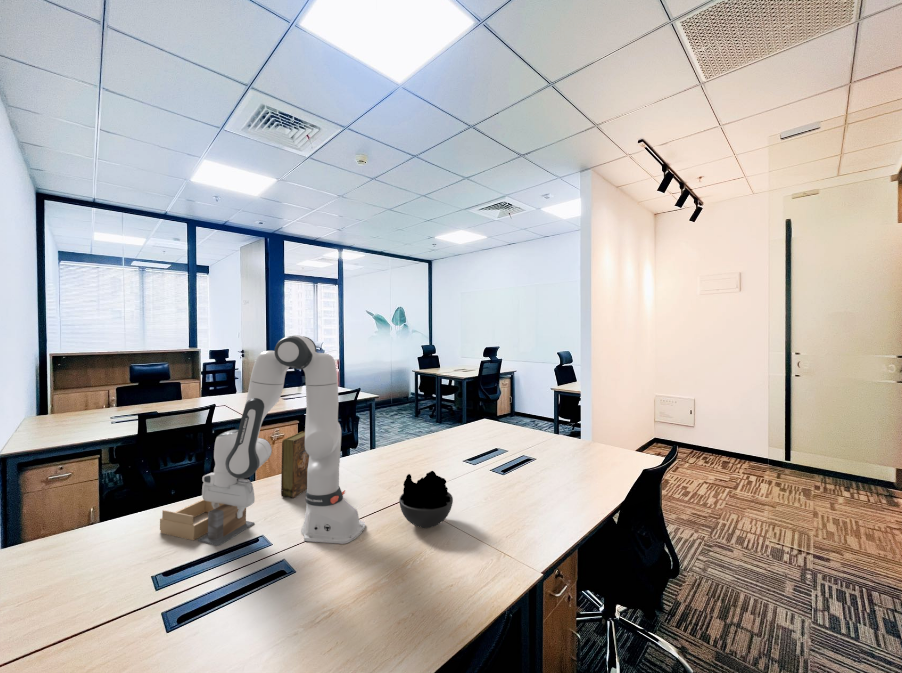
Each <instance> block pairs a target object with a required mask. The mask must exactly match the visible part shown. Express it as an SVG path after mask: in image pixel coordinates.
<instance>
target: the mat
mask: <svg viewBox="0 0 902 673" xmlns="http://www.w3.org/2000/svg"><path fill="white" fill-rule="evenodd" d="M254 525H255V522H254V521H248V520H246V524H244V525H242V526H241V527H239V528H237V529H236V530H234V531H232V532H231V533H229V534H227V535H225V536H224V537H222V538H220V539H219V540H212V539H208V533H206V534H204V535H202V536H200V537H199V538H197V542H200V543H204V544H208V545H214V546H218V547H220V546H221V545H222V544H224V543H226V542H228V541H229V540H231V539H232V538H234V537H235V536H238V534H241V533H242V532H244V531H246V530H248V529H249V528H251V527H252V526H254Z"/></svg>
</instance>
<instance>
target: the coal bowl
mask: <svg viewBox="0 0 902 673" xmlns="http://www.w3.org/2000/svg"><path fill="white" fill-rule="evenodd" d="M446 485H447V480H446V478H443V477H441V476H439V475H437V473H436V472H435V470H431V471H429V472H426V475H425V476H424V477H421V478H420V479H417V481H416V482H414V481H413V480H412V474H410V473H408V474H407V475H406V477H405V480H404V482H403V489H402V490H403V491H402V492H403V493H402V494H401V495H400V496H399V501H398V502H399V507H400V511H401V513H402V514H403V517H404V518H405V519H406V520H407V521H408V522H409V523H410V524H411V525H413V526H415V527H418V528H422V529H428V528H434V527H436V526H439V525H440V524H441V523H443V522H444V521H445V520H446V518H447V517H448V516H449V514H450V511H451V510H452V507H453V503H454V502H453V501H454V498H453V495H452V494H451V493H450V492H448V490H449V489H448V487H447V486H446Z"/></svg>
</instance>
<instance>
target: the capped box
mask: <svg viewBox="0 0 902 673" xmlns="http://www.w3.org/2000/svg"><path fill="white" fill-rule="evenodd" d="M238 510H239V509H237V506H232V505H226V504H224V505H222V506H220V507H218V508H216V509H214V510H212V511H210V512H207V518H208V533H207V534H208V539H212V540H219V539H220V538H222V537H224V536H225V535H227V534H229V533H231V532H232V531H234V530H236V529H237V528H239V527H241V526H242V525H244V524H246V521H247V508H245V509H244V511H243V516H242V517H241V518H235V513H237V512H238Z"/></svg>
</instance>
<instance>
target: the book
mask: <svg viewBox="0 0 902 673" xmlns="http://www.w3.org/2000/svg"><path fill="white" fill-rule="evenodd" d="M308 463H309V455H308V453H307V452H306V450H305V430H302V431H300V432H298V433H295V434H293V435H291V436H288V437H286V438H283V439H282V441H281V471H280V472H281V477H280V479H281V480H280V481H281V482H280V486H281V487H280V489H281V490H280V495H281V498H284V497H289V498H291V499H295V498H296V497H298V496H299V495H300V493H301V494H303V493H304V492H306V490H307V469H308ZM303 491H304V492H303Z"/></svg>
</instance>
